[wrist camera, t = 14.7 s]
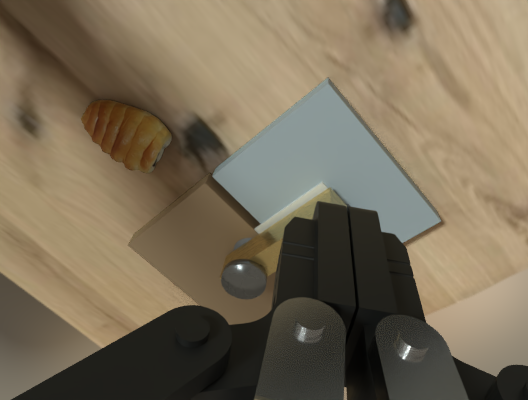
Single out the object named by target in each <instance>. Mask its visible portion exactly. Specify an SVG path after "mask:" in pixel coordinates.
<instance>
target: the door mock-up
mask: <svg viewBox="0 0 528 400" xmlns="http://www.w3.org/2000/svg"><path fill="white" fill-rule="evenodd" d="M329 187H331V188H332V190H333V191H334V192H335V193H336V194H337V195H338V196H339V197H340V199H341V200H342V201H343V202H344V203H345V204H346V205H347V206H351V207H356V208H362V209H368V210H373V211H377V213H378V217H379V222H380V227H381V232H386V233H392V234H395V235H396V236H397V238H398V239H399V240H400V241H401V242H402V243H404V242H405V241H407V240H409V239H411V238H412V237H414V236H416V235H418V234H420V233H421V232H423V231H425V230H427V229H428V228H430V227H432V226H434V225H435V224H437V223H439V222H441V219H440V217H439V214H438V212H437V210H436V209H435V208H434V207H433V206H432V204H431V203H430V202H429V201H428V199H427V198H426V197H425V196H424V194H423V193H422V192H421V191H420V190H419V188H418V187H417V186H416V185H415V183H414V182H413V181H412V180H411V179H410V177H409V176H408V175H407V174H406V172H405V171H404V170H403V169H402V168H401V166H400V165H399V164H398V163H397V161H396V160H395V159H394V158H393V156H392V155H391V154H390V153H389V152H388V150H387V149H386V148H385V147H384V145H383V144H382V143H381V142H380V141H379V139H378V138H377V137H376V136H375V134H374V133H373V132H372V131H371V129H370V128H369V127H368V126H367V125H366V123H365V122H364V121H363V120H362V118H361V117H360V116H359V115H358V114H357V112H356V111H355V110H354V109H353V107H352V106H351V105H350V104H349V103H348V101H347V100H346V99H345V98H344V96H343V95H342V94H341V93H340V91H339V90H338V89H337V88H336V87H335V85H334V84H333V83H332V82H331V80H330V79H329V78H327V79H325V80H324V81H323V82H322V83H321V84H319V85H318V86H317V87H316V88H314V89H313V90H312V91H311V92H309V93H308V94H307V95H306V96H304V97H303V98H302V99H301V100H299V101H298V102H297V103H296V104H295V105H293V106H292V107H291V108H290V109H288V110H287V111H286V112H285V113H283V114H282V115H281V116H280V117H278V118H277V119H276V120H275V121H273V122H272V123H271V124H270V125H268V126H267V127H266V128H265V129H264V130H262V131H261V132H260V133H259V134H257V135H256V136H255V137H254V138H252V139H251V140H250V141H249V142H247V143H246V144H245V145H244V146H242V147H241V148H240V149H239V150H238V151H236V152H235V153H234V154H233V155H231V156H230V157H229V158H228V159H226V160H225V161H224V162H223V163H221V164H220V165H219V166H218V167H216V169H215V171H214V173H213V176H212V175H211V174H210V173H209V174H208V175H207V176H205V177H204V178H203V179H202V180H200V181H199V182H198V183H197V184H195V185H194V186H193V187H192V188H190V189H189V190H188V191H187V192H185V193H184V194H183V195H182V196H181V197H179V198H178V199H177V200H176V201H174V202H173V203H172V204H171V205H169V206H168V207H167V208H166V209H164V210H163V211H162V212H161V213H159V214H158V215H157V216H156V217H154V218H153V219H152V220H151V221H150V222H148V223H147V224H146V225H145V226H143V227H142V228H141V229H140V230H138V231H137V232H136V233H135V234H134V235H133V237H132V239H131V240H130V242H129V244H128V246H129V247H130V248H132V249H133V250H134V251H135V252H136V253H138V254H139V255H140V256H141V257H142V258H144V259H145V260H146V261H147V262H148V263H150V264H151V265H152V266H153V267H154V268H156V269H157V270H158V271H159V272H160V273H162V274H163V275H164V276H165V277H166V278H168V279H169V280H170V281H171V282H172V283H174V284H175V285H176V286H177V287H178V288H180V289H181V290H182V291H183V292H184V293H186V294H187V295H188V296H189V297H191V298H192V299H193V300H194V301H195V302H197V303H198V304H199V305H200V306H203V307H207V308H210V309H212V310H214V311H216V312H218V313H219V314H220V315H222V316H223V317H224V318H225V319H226V321H227V322H228V324H229V325H232V324H243V323H249V322H253V321H256V320H258V319H261V318H262V317H264V316H265V315H267V314H268V313H269V312H270V311H271V305H272V297H273V290H274V282H275V274H276V272H274V273H272V274H271V275H269V276H267V283H266V288H265V291H264V292H263V293H262V294H261V295H260V296H258V297H256V298H253V299H239V298H236V297H233V296H231V295H230V294H228V293H227V292H226V291H225V290H224V288H223V286H222V284H221V279H220V275H221V272H222V268H223V265H224V261H225V258H226V256H227V255H228V254H230V253H231V252H233V251H234V250H236V249H237V248H239V247H240V246H242V245H243V244H245V243H246V242H248V241H249V240H251V239H252V238H254V237H255V236H257V235H258V234H260V233H261V232H263V231H264V230H266V229H267V228H269V227H270V226H272V225H273V224H275V223H277V222H278V221H280V220H281V219H283V218H284V217H286V216H287V215H289V214H290V213H292V212H293V211H295V210H296V209H298V208H299V207H301V206H302V205H304V204H305V203H307V202H308V201H310V200H311V199H313V198H314V197H316V196H317V195H319V194H320V193H322V192H323V191H325V190H326V189H328V188H329Z"/></svg>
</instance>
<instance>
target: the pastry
mask: <svg viewBox="0 0 528 400" xmlns="http://www.w3.org/2000/svg"><path fill="white" fill-rule="evenodd" d="M81 120H82V123H83V124H84V128H85V130H86V131H87V132H88V133H89V134H90V136H91V137H92V140H93V142H95V143H97V144H99V145H100V146H101V149H102V151H103V152H105V153H108V154H110V156H111V158H112V159H114V160H115V161H116V162H123V163H124V165H125V167H126V168H127V169H129V170H132V171H133V170H140V171H141V172H144V173H151V172H152V171H153V170H154V168H155V166H156V162H158V161H159V160H160V159H161V157H162V154H163V151H164V148H166V147H167V146H168V145H169V144H170V142H171V134H170V132H169V130H168V129H167V128H166V127H165V125H164V124H163V123H162V122H161V121H160V120H159V118H157V117H155V116H153V115H152V114H150V113H149V112H146V111H143V110H141V109H138V108H135V107H133V106H129V105H126V104H122V103H119V102H115V101H111V100H98V101H94V102H92V103H91V104H90V105H89V106H88V107H87V109H86V111H85V113H84V114H83V116H82V118H81Z"/></svg>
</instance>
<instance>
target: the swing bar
mask: <svg viewBox="0 0 528 400" xmlns="http://www.w3.org/2000/svg"><path fill="white" fill-rule="evenodd" d="M317 201H321V202H327V203H333V204H339V205H344V206H346V207H347V205H346V204H345V203H344V202H343V201H342V200H341V199H340V197H339V196H338V195H337V194H336V193H335V192H334V191H333V190H332V188H331V187H329V188H328V189H326V190H325V191H323V192H322V193H320V194H319V195H317V196H316V197H314V198H313V199H311V200H310V201H308V202H307V203H305V204H304V205H302V206H301V207H299V208H298V209H296V210H295V211H293V212H292V213H290V214H289V215H287V216H286V217H284V218H283V219H281V220H280V221H278V222H277V223H275V224H273V225H272V226H270V227H269V228H267V229H266V230H264V231H263V232H261V233H260V234H258V235H257V236H255V237H254V238H252V239H251V240H249V241H248V242H246V243H245V244H243V245H242V246H240V247H239V248H237V249H236V250H234V251H233V252H231V253H230V254H228V255H227V256H226V258H225V261H224V265H223V268H222V272H221V275H220V279H221V284H222V286H223V288H224V290H225V291H226V292H227V293H228V294H230V295H231V296H233V297H236V298H239V299H253V298H256V297H258V296H260V295H261V294H262V293H263V292H264V291H265V288H266V283H267V276H269V275H271V274H272V273H274V272H276V269H277V264H278V259H279V254H280V249H281V244H282V239H283V234H284V229H285V226H286V225H287V224H288V223H289V222H290V221H291V220H292V219H293V218H294V217H300V218H306V219H311V220H312V219H313V214H314V210H315V206H316V203H317Z"/></svg>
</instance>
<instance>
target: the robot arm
mask: <svg viewBox="0 0 528 400" xmlns="http://www.w3.org/2000/svg"><path fill="white" fill-rule="evenodd" d="M413 276H414V275H413V271H412V268H411V266H410V260H409V256H408V253H407V249H406V247H405V246H404V245H403V244H402V242H401V241H400V240H399V239H398V238H397V236H396V235H395V234H392V233H386V232H381V227H380V222H379V217H378V213H377V211H373V210H368V209H362V208H356V207H351V206H347V207H346V206H344V205H339V204H333V203H327V202H321V201H317V203H316V206H315V210H314V214H313V219H312V220H311V219H306V218H300V217H294V218H293V219H292V220H291V221H290V222H289V223H288V224H287V225H286V226H285V229H284V234H283V239H282V244H281V249H280V254H279V259H278V264H277V269H276V274H275V282H274V290H273V297H272V305H271V311H270V312H269V313H268V314H267V315H265V316H264V317H262V318H261V319H258V320H256V321H253V322H249V323H243V324H232V325H229V324H228V322H227V321H226V319H225V318H224V317H223V316H222V315H220V314H219V313H218V312H216V311H214V310H212V309H210V308H207V307H203V306H196V305H189V306H182V307H178V308H175V309H172V310H170V311H168V312H166V313H165V314H163V315H161V316H159V317H158V318H156V319H154V320H152V321H150V322H149V323H147V324H145V325H143V326H141V327H140V328H138V329H136V330H134V331H133V332H131V333H129V334H127V335H125V336H124V337H122V338H120V339H118V340H117V341H115V342H113V343H111V344H109V345H108V346H106V347H104V348H102V349H101V350H99V351H97V352H95V353H94V354H92V355H90V356H88V357H86V358H85V359H83V360H81V361H79V362H77V363H76V364H74V365H72V366H70V367H68V368H67V369H65V370H63V371H61V372H60V373H58V374H56V375H54V376H53V377H51V378H49V379H47V380H45V381H43V382H42V383H40V384H38V385H36V386H35V387H33V388H31V389H29V390H27V391H26V392H24V393H22V394H20V395H19V396H17V397H15V398H13V399H12V400H344V387H347V400H528V366H523V365H511V366H507V367H505V368H503V369H502V370H501V371H500V373H499V374H498V376H497V377H495V376H493V375H491V374H489V373H486V372H484V371H482V370H479V369H477V368H475V367H473V366H470V365H468V364H466V363H464V362H462V361H460V360H458V359H456V358H454V357H453V356H452V355H451V353H450V350H449V347H448V346H447V343H446V342H445V340H444V339H443V337H442V336H441V335H440V334H439V333H438V332H437V331H436V330H435V329H434V328H433V327H431V326H430V325H428V324H427V323H426V320H425V317H424V313H423V309H422V305H421V301H420V298H419V294H418V290H417V286H416V283H415V279H414V278H413Z"/></svg>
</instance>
